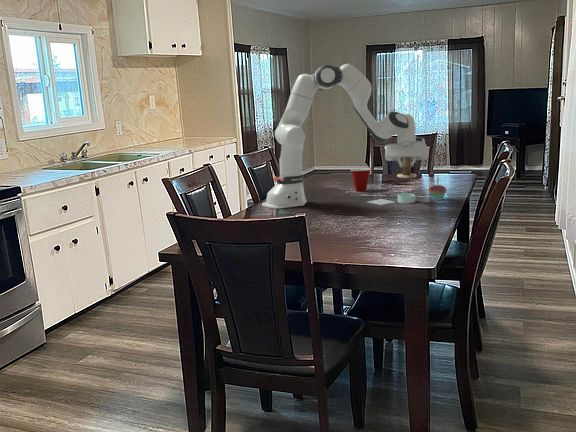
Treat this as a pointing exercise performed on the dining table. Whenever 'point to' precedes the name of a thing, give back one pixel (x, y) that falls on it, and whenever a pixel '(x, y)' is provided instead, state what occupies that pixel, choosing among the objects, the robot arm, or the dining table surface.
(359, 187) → the plastic cup
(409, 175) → the lid
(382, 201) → the mat
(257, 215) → the dining table surface
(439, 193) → the cupcake
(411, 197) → the bowl
